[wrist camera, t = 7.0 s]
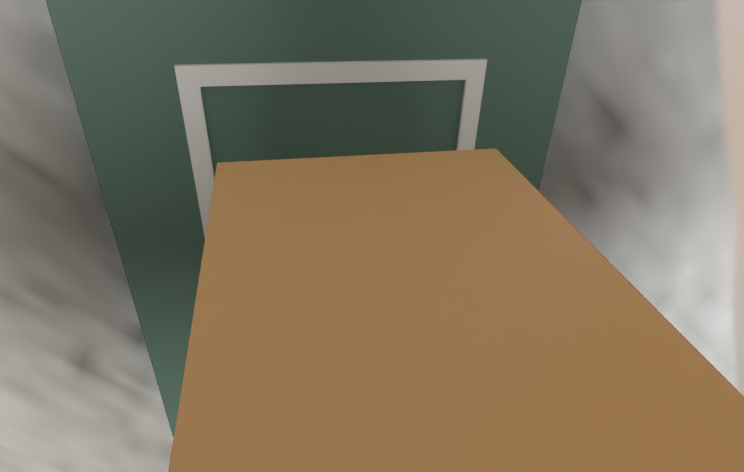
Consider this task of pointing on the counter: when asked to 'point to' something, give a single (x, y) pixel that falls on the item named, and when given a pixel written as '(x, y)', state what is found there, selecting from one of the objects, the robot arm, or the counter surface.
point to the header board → (287, 109)
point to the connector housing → (430, 332)
